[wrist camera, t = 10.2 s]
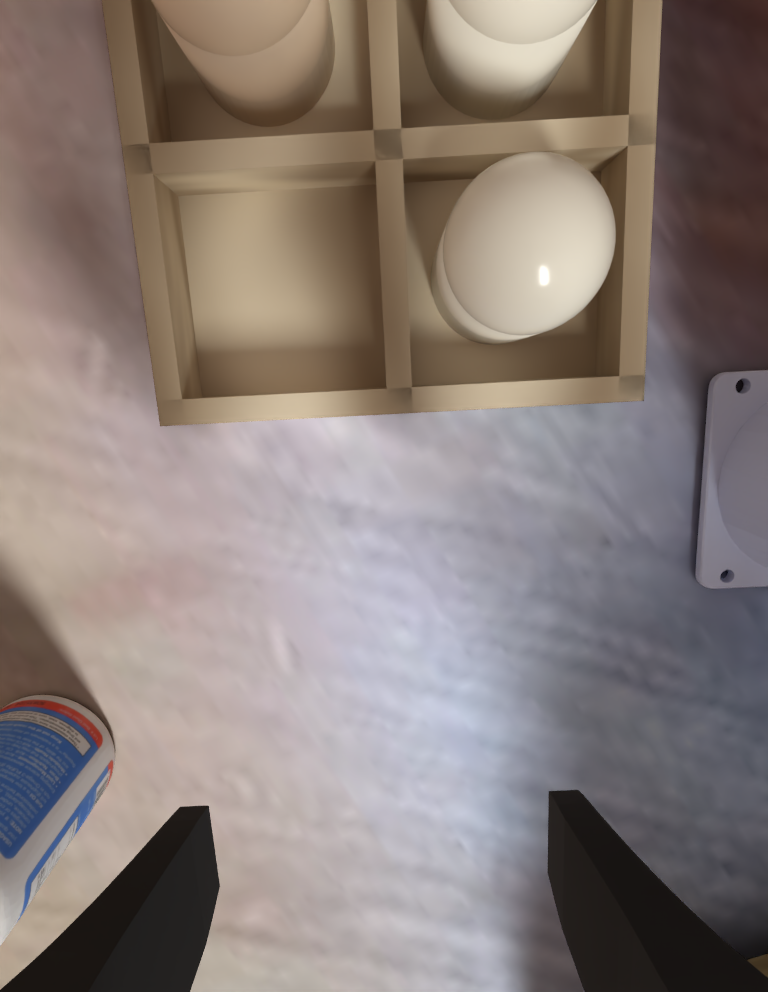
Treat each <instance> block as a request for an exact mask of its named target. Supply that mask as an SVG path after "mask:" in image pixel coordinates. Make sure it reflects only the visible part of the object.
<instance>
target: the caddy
mask: <svg viewBox="0 0 768 992" xmlns="http://www.w3.org/2000/svg"><path fill="white" fill-rule="evenodd" d="M426 2H427V0H329V4H330V10H331V17H332V23H333V30H334V37H335V61H334V67H333V72H332V76H331V78H330V81H329V84H328V86H327V88H326V90H325V92H324V94H323V95H322V97H321V98H320V100H319V101H318V102H317V103H316V105H315V106H314V107H313V108H312V109H311V110H310V111H308V112H307V113H306V114H305V115H303V116H302V117H300V118H299V119H297V120H295V121H293V122H291V123H288V124H285V125H281V126H274V127H261V126H255V125H251V124H248V123H244V122H242V121H240V120H238V119H236V118H234V117H233V116H231V115H230V114H228V113H227V112H226V111H225V110H224V109H222V108H221V107H220V106H219V105H218V104H217V102H216V101H215V100H214V99H213V98H212V96H211V95H210V93H209V92H208V91H207V89H206V87H205V86H204V84H203V83H202V81H201V79H200V78H199V76H198V75H197V73H196V72H195V70H194V68H193V67H192V65H191V64H190V62H189V60H188V59H187V57H186V56H185V54H184V53H183V51H182V49H181V48H180V46H179V45H178V43H177V41H176V40H175V38H174V37H173V35H172V34H171V32H170V30H169V29H168V27H167V26H166V24H165V23H164V21H163V19H162V18H161V16H160V15H159V13H158V11H157V10H156V8H155V6H154V5H153V3H152V1H151V0H102V6H103V13H104V21H105V28H106V35H107V42H108V50H109V57H110V64H111V72H112V79H113V86H114V93H115V101H116V108H117V115H118V123H119V130H120V137H121V144H122V152H123V159H124V166H125V174H126V181H127V188H128V195H129V203H130V210H131V217H132V225H133V232H134V239H135V246H136V254H137V261H138V268H139V276H140V283H141V290H142V297H143V305H144V312H145V319H146V327H147V334H148V341H149V348H150V356H151V363H152V370H153V378H154V385H155V392H156V399H157V407H158V414H159V421H160V426H171V425H190V424H209V423H228V422H247V421H266V420H285V419H304V418H323V417H342V416H361V415H380V414H399V413H418V412H437V411H457V410H476V409H495V408H514V407H533V406H552V405H571V404H590V403H609V402H628V401H644V385H645V363H646V342H647V320H648V299H649V277H650V256H651V234H652V213H653V191H654V170H655V148H656V126H657V105H658V83H659V62H660V40H661V19H662V0H597V2H596V4H595V6H594V7H593V9H592V11H591V13H590V15H589V17H588V18H587V20H586V22H585V24H584V26H583V27H582V29H581V31H580V33H579V35H578V36H577V38H576V40H575V42H574V44H573V46H572V47H571V49H570V51H569V53H568V55H567V56H566V58H565V60H564V62H563V64H562V65H561V67H560V69H559V71H558V73H557V75H556V76H555V78H554V80H553V82H552V83H551V85H550V86H549V88H548V89H547V91H546V92H545V93H544V94H543V95H542V97H541V98H540V99H539V100H537V101H536V102H535V103H534V104H533V105H532V106H530V107H529V108H527V109H526V110H524V111H522V112H521V113H519V114H517V115H514V116H511V117H508V118H504V119H498V120H485V119H478V118H474V117H471V116H468V115H466V114H463V113H462V112H460V111H458V110H456V109H455V108H454V107H452V106H451V105H450V104H449V103H448V102H447V101H446V100H445V99H444V98H443V97H442V96H441V95H440V93H439V92H438V91H437V89H436V88H435V86H434V84H433V82H432V80H431V78H430V76H429V73H428V71H427V67H426V64H425V59H424V52H423V32H424V22H425V12H426ZM539 151H540V152H551V153H556V154H560V155H563V156H565V157H568V158H570V159H573V160H574V161H576V162H578V163H579V164H581V165H582V166H584V167H585V168H586V169H587V170H589V171H590V172H591V173H592V174H593V175H594V177H595V178H596V179H597V180H598V181H599V183H600V184H601V186H602V187H603V188H604V190H605V192H606V194H607V196H608V198H609V201H610V204H611V206H612V209H613V214H614V218H615V228H616V242H615V249H614V255H613V258H612V262H611V265H610V269H609V271H608V274H607V276H606V278H605V280H604V282H603V284H602V286H601V288H600V289H599V291H598V292H597V293H596V295H595V296H594V297H593V299H592V300H591V301H590V302H589V303H588V305H587V306H586V307H585V308H584V309H583V310H582V311H581V312H579V313H578V314H577V315H576V316H575V317H573V318H572V319H570V320H569V321H567V322H566V323H564V324H562V325H560V326H558V327H556V328H554V329H552V330H549V331H546V332H543V333H540V334H536V335H533V336H530V337H527V338H523V339H520V340H517V341H514V342H511V343H506V344H501V345H486V344H480V343H476V342H473V341H471V340H468V339H466V338H464V337H462V336H461V335H459V334H458V333H456V332H455V331H454V330H453V329H452V328H451V327H450V326H449V325H448V324H447V323H446V322H445V321H444V319H443V318H442V316H441V315H440V313H439V311H438V309H437V307H436V305H435V302H434V299H433V295H432V290H431V267H432V262H433V258H434V255H435V252H436V249H437V247H438V244H439V242H440V239H441V237H442V234H443V231H444V229H445V226H446V224H447V221H448V219H449V216H450V214H451V212H452V210H453V208H454V206H455V203H456V202H457V200H458V199H459V197H460V196H461V194H462V193H463V191H464V190H465V189H466V187H467V186H468V185H469V184H470V183H471V182H472V180H474V179H475V178H476V177H477V176H478V175H479V174H480V173H481V172H483V171H484V170H486V169H487V168H489V167H490V166H491V165H493V164H495V163H496V162H498V161H500V160H502V159H504V158H507V157H510V156H513V155H516V154H521V153H526V152H539Z"/></svg>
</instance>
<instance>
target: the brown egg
mask: <svg viewBox="0 0 768 992" xmlns="http://www.w3.org/2000/svg"><path fill="white" fill-rule="evenodd" d="M151 1H152V3H153V5H154V6H155V8H156V10H157V11H158V13H159V15H160V16H161V18H162V19H163V21H164V23H165V24H166V26H167V27H168V29H169V30H170V32H171V34H172V35H173V37H174V38H175V40H176V41H177V43H178V45H179V46H180V48H181V49H182V51H183V53H184V54H185V56H186V57H187V59H188V60H189V62H190V64H191V65H192V67H193V68H194V70H195V72H196V73H197V75H198V76H199V78H200V79H201V81H202V83H203V84H204V86H205V87H206V89H207V91H208V92H209V93H210V95H211V96H212V98H213V99H214V100H215V101H216V102H217V104H218V105H219V106H220V107H221V108H222V109H224V110H225V111H226V112H227V113H228V114H230V115H231V116H233V117H234V118H236V119H238V120H240V121H242V122H244V123H248V124H251V125H255V126H261V127H274V126H281V125H285V124H288V123H291V122H293V121H295V120H297V119H299V118H300V117H302V116H303V115H305V114H306V113H307V112H308V111H310V110H311V109H312V108H313V107H314V106H315V105H316V103H317V102H318V101H319V100H320V98H321V97H322V95H323V94H324V92H325V90H326V88H327V86H328V84H329V81H330V78H331V76H332V72H333V67H334V61H335V37H334V30H333V23H332V17H331V10H330V4H329V0H151Z"/></svg>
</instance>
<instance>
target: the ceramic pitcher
mask: <svg viewBox="0 0 768 992" xmlns="http://www.w3.org/2000/svg"><path fill="white" fill-rule="evenodd" d="M747 961H748V962H750V963H751V964H752V965H753V966H754V967H755V968H757V969H758V970H759V971H760V972H762V973H763V974H764V975H765V976H767V977H768V954H765V955H762V956H758V957H755V958H751V959H748V960H747Z"/></svg>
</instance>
